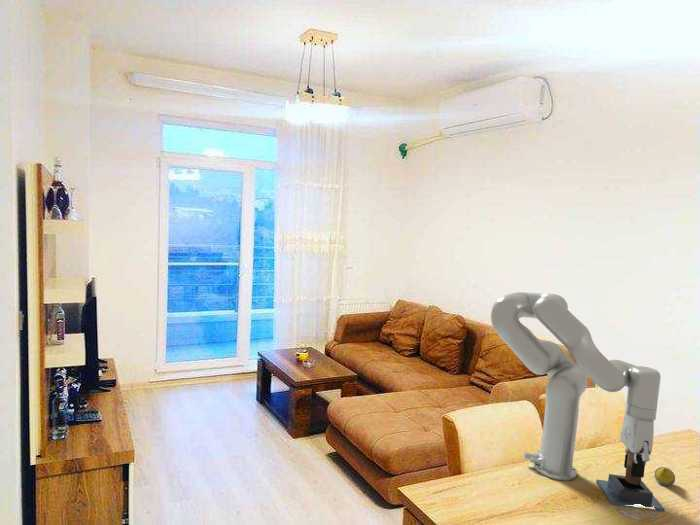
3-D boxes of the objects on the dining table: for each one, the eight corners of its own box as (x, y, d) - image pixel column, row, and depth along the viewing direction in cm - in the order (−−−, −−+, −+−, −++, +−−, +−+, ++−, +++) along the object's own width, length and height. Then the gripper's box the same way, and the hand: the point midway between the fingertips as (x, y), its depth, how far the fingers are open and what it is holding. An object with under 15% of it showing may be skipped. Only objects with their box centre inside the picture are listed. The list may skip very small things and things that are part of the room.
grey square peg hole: (611, 504, 141) (612, 491, 141) (595, 481, 153) (597, 469, 153) (664, 511, 140) (666, 498, 139) (644, 488, 151) (646, 476, 151)
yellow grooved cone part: (678, 487, 155) (679, 474, 148) (660, 491, 156) (660, 479, 150) (669, 470, 159) (669, 457, 152) (651, 474, 160) (651, 461, 153)
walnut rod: (628, 483, 144) (632, 450, 143) (622, 476, 148) (626, 443, 147) (643, 485, 143) (647, 451, 142) (637, 478, 147) (641, 445, 146)
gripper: (615, 399, 152) (608, 457, 154) (639, 420, 136) (631, 485, 138) (641, 401, 152) (634, 460, 153) (669, 424, 135) (661, 489, 137)
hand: (633, 471), depth 145 cm, fingers closed on walnut rod, 4 cm apart
